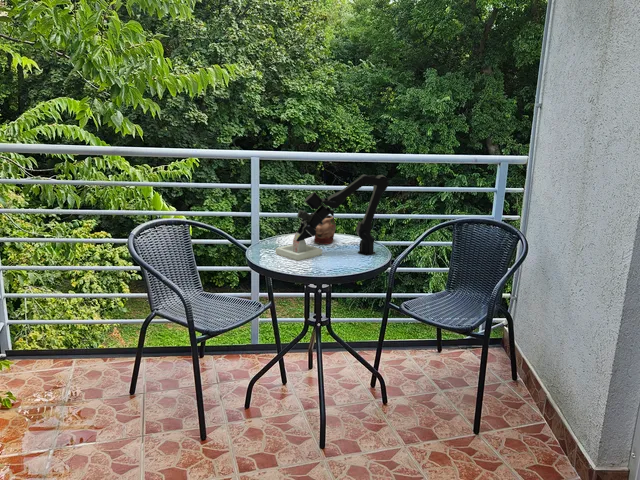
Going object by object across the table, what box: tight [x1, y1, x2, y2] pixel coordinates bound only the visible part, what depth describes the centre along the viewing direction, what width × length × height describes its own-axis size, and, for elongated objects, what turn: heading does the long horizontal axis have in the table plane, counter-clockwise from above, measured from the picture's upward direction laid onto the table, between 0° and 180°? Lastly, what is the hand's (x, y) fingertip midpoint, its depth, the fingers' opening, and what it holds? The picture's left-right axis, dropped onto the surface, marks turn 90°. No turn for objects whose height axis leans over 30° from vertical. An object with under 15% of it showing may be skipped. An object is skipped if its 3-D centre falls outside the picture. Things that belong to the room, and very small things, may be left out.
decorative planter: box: [313, 215, 337, 245], centre depth 296 cm, size 20×12×14 cm, turn 164°
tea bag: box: [292, 231, 307, 253], centre depth 271 cm, size 4×7×10 cm, turn 29°
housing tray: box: [275, 243, 323, 262], centre depth 272 cm, size 16×16×3 cm
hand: (296, 238), depth 270 cm, fingers open, 9 cm apart
